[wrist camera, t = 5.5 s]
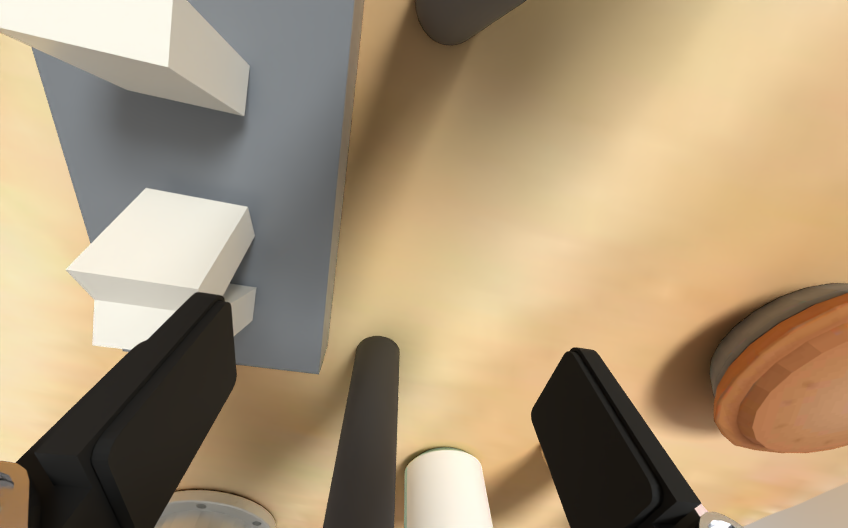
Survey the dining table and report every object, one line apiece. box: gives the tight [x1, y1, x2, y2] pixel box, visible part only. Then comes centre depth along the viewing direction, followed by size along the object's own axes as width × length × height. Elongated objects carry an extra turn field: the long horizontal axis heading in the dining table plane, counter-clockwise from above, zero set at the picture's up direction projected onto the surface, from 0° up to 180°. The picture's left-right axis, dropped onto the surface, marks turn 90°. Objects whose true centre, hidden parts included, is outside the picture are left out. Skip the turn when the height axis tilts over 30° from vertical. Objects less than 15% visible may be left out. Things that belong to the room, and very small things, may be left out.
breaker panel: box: [32, 0, 364, 374], centre depth 16 cm, size 20×11×2 cm, turn 167°
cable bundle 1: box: [323, 336, 399, 528], centre depth 14 cm, size 3×3×20 cm
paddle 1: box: [0, 0, 250, 116], centre depth 10 cm, size 2×4×4 cm, turn 78°
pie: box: [710, 283, 848, 453], centre depth 22 cm, size 15×16×5 cm
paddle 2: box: [93, 283, 256, 350], centre depth 14 cm, size 2×4×4 cm, turn 78°
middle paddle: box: [65, 188, 255, 311], centre depth 13 cm, size 2×4×4 cm, turn 77°
